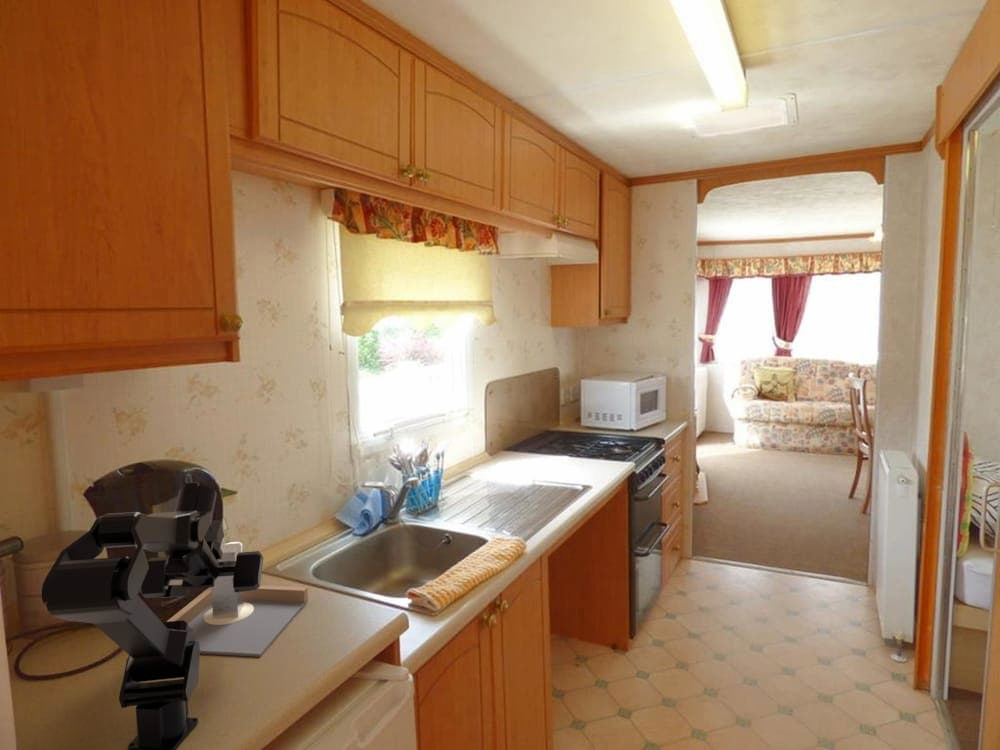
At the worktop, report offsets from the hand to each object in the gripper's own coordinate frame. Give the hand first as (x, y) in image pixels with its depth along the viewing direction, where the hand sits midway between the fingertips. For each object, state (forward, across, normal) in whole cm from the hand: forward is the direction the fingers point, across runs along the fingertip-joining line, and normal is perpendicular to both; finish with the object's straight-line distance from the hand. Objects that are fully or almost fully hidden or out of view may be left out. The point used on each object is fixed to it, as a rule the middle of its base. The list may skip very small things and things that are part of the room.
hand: (215, 591), depth 110 cm
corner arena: (+9, -2, +3) cm, 10 cm away
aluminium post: (+11, 0, 0) cm, 11 cm away
